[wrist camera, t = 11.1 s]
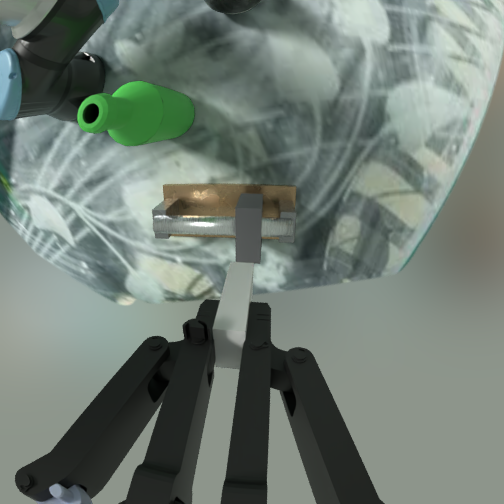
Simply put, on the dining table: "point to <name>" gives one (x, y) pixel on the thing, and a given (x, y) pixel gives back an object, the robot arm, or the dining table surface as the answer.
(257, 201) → the grey sliding block
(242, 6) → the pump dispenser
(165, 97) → the bottle
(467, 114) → the dining table surface
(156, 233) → the pipe stand
